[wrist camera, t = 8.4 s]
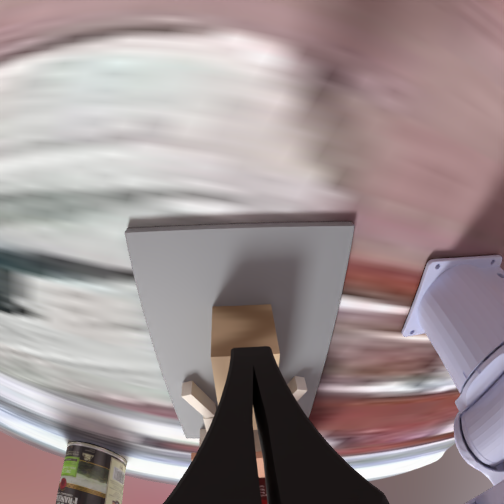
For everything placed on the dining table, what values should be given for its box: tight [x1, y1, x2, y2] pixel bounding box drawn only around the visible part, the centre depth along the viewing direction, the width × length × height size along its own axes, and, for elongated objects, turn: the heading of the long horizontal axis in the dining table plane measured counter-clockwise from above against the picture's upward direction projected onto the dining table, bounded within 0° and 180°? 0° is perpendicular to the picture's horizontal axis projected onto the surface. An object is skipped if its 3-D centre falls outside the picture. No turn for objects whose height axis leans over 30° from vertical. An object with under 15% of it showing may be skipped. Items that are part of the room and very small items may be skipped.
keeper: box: [125, 222, 354, 478], centre depth 23 cm, size 14×27×7 cm, turn 0°
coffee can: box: [56, 442, 127, 504], centre depth 31 cm, size 10×10×14 cm
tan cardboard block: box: [211, 304, 280, 430], centre depth 22 cm, size 4×10×4 cm, turn 0°
